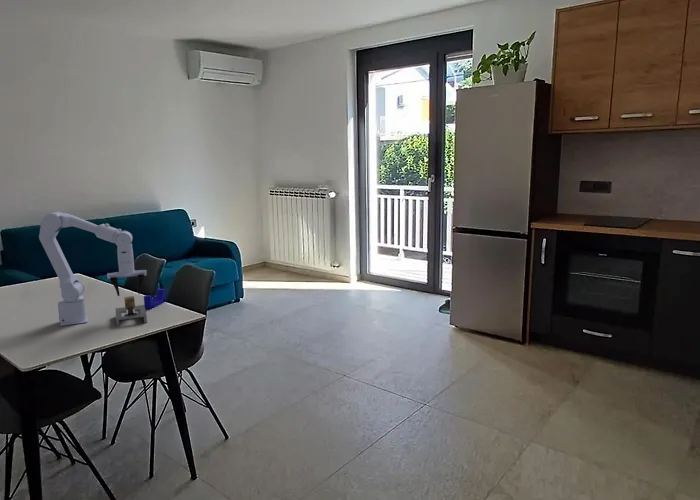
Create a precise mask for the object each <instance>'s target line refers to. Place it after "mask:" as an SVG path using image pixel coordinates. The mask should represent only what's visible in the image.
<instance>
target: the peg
mask: <svg viewBox="0 0 700 500" xmlns="http://www.w3.org/2000/svg"><path fill="white" fill-rule="evenodd" d="M123 298H124V306H125V308H128V310H127V313H124V315H123V316H129V315H137V314H138V313H137V312H134V309H133V307H135V306H136V303H135V296H134V295H132V296H125V297H123ZM133 319H134V318H130V319H129V320H133Z"/></svg>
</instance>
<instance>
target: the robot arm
mask: <svg viewBox="0 0 700 500" xmlns="http://www.w3.org/2000/svg"><path fill="white" fill-rule="evenodd" d="M39 223H40V224H39V225H40V228H39V235H38V239H39V241H40V243H41V246H42V247H43V249H44V251H45V254H46V255H47V257H48V259H49V261H50V262H49V263H50V264H51V266H52V268H53V270H54V271H55V274H56V276H57V278H58V280H59V288H60V289H61V290H60V292H61V293H60V295H61V299H62V300H61V301H58V302H57V311H58V321H59V326H60V327H62V326H71V325H77V324H84V323H85V324H87V323H88V320H89V316H88V315H87V312H86V303H85V297H84V295H83V293H84V292H85V286H84V283H82V282H81V281H80V280H79V279H78V277H77V276H76V275H75V274H74V273H73V271H72V269H71V267H70V264H69V263H68V261H67V259H66V257H65V254H64V253H63V250H62V248H61V246H60V244H59V242H58V240H57V236H58V234H59V232H60V230H61V229H64V228H71V227H75V228H76V229H77V228H78V229H80V230H84V231H87V232H90V233H93V234H94V235H95V236H96V238H98V239H101V240H104V241H107V242H109V243H111V244H115V245H116V246H117V250H116V251H117V265H118V271H115V272H108V273H107V274H106V276H107V280H110V282H111V283H112V285H113V287H114V289H115V292H116V295H117V297H119V296H120V290H119V283H118V282H119V281H118V278H119V279H121V278H130V277H137V278H136V279H137V294H138V295H139V294H141V288H142V286H143V282H144V279H145V276H148V275H147V273H148V271H147V269H139V270H138V269H137V270H136V269H135V260H134V259H135V258H134V249H133V243H132V242H133V239H134V238H133V234H132V233H131V232H129V231H128V230H122V229H121V228H116V227H113V226H110V224H109V223H102V224H99V225H97V224H95V223H93V222H90V221H87V220H85V219H83V218H81V217H78V216H76V215H73V214H70V213H67V212H63V211H60V210H56V211H52V212H51V213H47V214H45V215H44V217H43V218H42V219H41V221H40V222H39Z"/></svg>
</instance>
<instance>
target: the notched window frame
mask: <svg viewBox="0 0 700 500" xmlns="http://www.w3.org/2000/svg"><path fill="white" fill-rule="evenodd" d="M146 310H147V309H145V306H144V304H141V305H140V304H139V305H135V307H133V311H134V313H137V312H139V314H138V313H137V315H129V316H124V315H123V316H122V314H128V308H125V307H116V308H115V322H116V327H117V328H119V327H120V320H121V321H122V320H131V319H130V318H133V319H136V318H143V324H147V323H148V318H147V316H148V315H147V311H146Z"/></svg>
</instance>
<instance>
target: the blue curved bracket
mask: <svg viewBox="0 0 700 500" xmlns="http://www.w3.org/2000/svg"><path fill="white" fill-rule="evenodd" d="M166 297H167V296H166V288H157V290H156V294H155V295H154V296H153V295H147V294H145V295H144V296H143V305H144V306H145V310H149V309H151V310H153V309H155V308H157V307H159V306H161V305H163V304H164V303H166V302H167V301H166V300H167V298H166ZM152 308H153V309H152Z"/></svg>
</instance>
